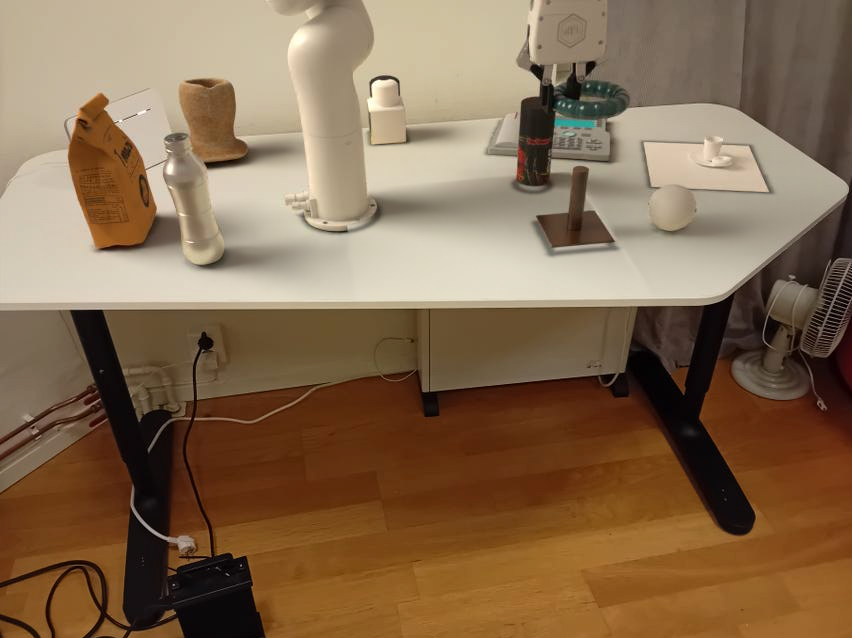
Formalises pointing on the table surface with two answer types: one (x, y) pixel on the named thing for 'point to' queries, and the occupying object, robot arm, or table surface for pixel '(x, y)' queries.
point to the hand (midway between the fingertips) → (558, 108)
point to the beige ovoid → (672, 207)
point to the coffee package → (109, 178)
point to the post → (575, 218)
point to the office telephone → (558, 138)
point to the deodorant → (534, 143)
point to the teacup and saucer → (704, 166)
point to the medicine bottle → (386, 111)
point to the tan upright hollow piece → (211, 118)
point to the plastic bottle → (192, 200)
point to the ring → (587, 110)
